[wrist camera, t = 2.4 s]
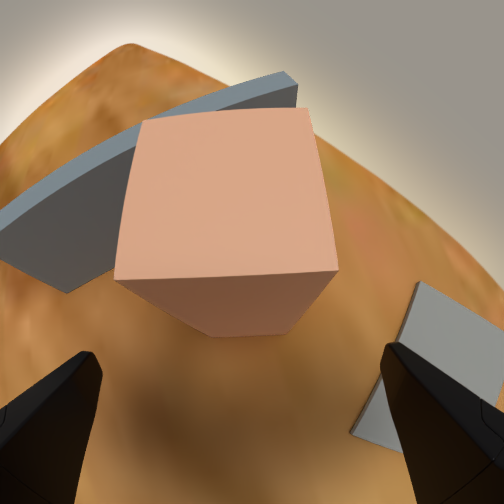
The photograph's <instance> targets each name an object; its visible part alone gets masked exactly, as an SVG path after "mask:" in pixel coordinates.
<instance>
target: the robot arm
mask: <svg viewBox="0 0 504 504" xmlns="http://www.w3.org/2000/svg"><path fill="white" fill-rule="evenodd" d="M380 370H381V374H382V379H383V383H384V387H385V392H386V396H387V401H388V406H389V410H390V413H391V416H392V419H393V422H394V426H395V429H396V432H397V435H398V438H399V441H400V444H401V448H402V451H403V454H404V458H405V461H406V464H407V468H408V471H409V475H410V479H411V482H412V486H413V490H414V493H415V497H416V501H417V504H504V413H503V412H501V411H500V410H498V409H497V408H495V407H494V406H492V405H491V404H489V403H488V402H486V401H485V400H484V399H482V398H481V399H480V397H479V396H478V395H476V394H475V393H473V392H472V391H470V390H469V389H468V388H466V387H465V386H463V385H462V384H460V383H459V382H457V381H456V380H455V379H453V378H452V377H450V376H449V375H447V374H446V373H444V372H443V371H442V370H440V369H439V368H437V367H436V366H434V365H433V364H431V363H430V362H428V361H427V360H426V359H424V358H423V357H421V356H420V355H418V354H417V353H415V352H414V351H412V350H411V349H409V348H408V347H407V346H405V345H404V344H402V343H401V342H391V343H387V344H386V346H385V348H384V352H383V355H382V359H381V362H380ZM102 377H103V372H102V369H101V367H100V365H99V363H98V360H97V358H96V356H95V354H94V353H93V352H89V351H81V352H79V353H78V354H76V355H75V356H74V357H72V358H71V359H69V360H68V361H67V362H65V363H64V364H62V365H61V366H60V367H58V368H57V369H55V370H54V371H52V372H51V373H50V374H48V375H47V376H45V377H44V378H43V379H41V380H40V381H38V382H37V383H36V384H34V385H33V386H32V387H30V388H29V389H27V390H26V391H25V392H23V393H22V394H20V395H19V396H18V397H16V398H15V399H14V400H12V401H11V402H9V403H8V404H7V405H5V406H4V407H3V408H1V409H0V504H74V502H75V497H76V492H77V487H78V482H79V477H80V473H81V468H82V464H83V460H84V456H85V451H86V447H87V444H88V440H89V436H90V432H91V429H92V425H93V421H94V418H95V413H96V409H97V403H98V397H99V392H100V387H101V382H102Z"/></svg>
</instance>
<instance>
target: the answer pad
mask: <svg viewBox="0 0 504 504" xmlns="http://www.w3.org/2000/svg"><path fill="white" fill-rule="evenodd" d="M395 342H401V343H402V344H404V345H405V346H407V347H408V348H409V349H411V350H412V351H414V352H415V353H417V354H418V355H420V356H421V357H423V358H424V359H426V360H427V361H428V362H430V363H431V364H433V365H434V366H436V367H437V368H439V369H440V370H442V371H443V372H444V373H446V374H447V375H449V376H450V377H452V378H453V379H455V380H456V381H457V382H459V383H460V384H462V385H463V386H465V387H466V388H468V389H469V390H470V391H472V392H473V393H475V394H476V395H478V396H479V397H480V399H481V398H482V399H484V400H485V401H486V402H488V403H489V404H491V405H492V406H494V407H495V405H496V402H497V399H498V396H499V394H500V391H501V388H502V384H503V381H504V331H502V330H501V329H499V328H498V327H496V326H495V325H493V324H491V323H490V322H488V321H487V320H485V319H483V318H482V317H480V316H479V315H477V314H475V313H474V312H472V311H471V310H469V309H467V308H466V307H464V306H462V305H461V304H459V303H457V302H456V301H454V300H452V299H451V298H449V297H447V296H446V295H444V294H442V293H441V292H439V291H437V290H436V289H434V288H432V287H430V286H429V285H427V284H425V283H423V282H422V281H419V282H418V283H417V284H416V287H415V290H414V293H413V296H412V299H411V302H410V305H409V308H408V310H407V313H406V316H405V318H404V321H403V324H402V326H401V329H400V331H399V334H398V336H397V339H396V341H395ZM350 433H351V434H352V435H354V436H357V437H359V438H362V439H364V440H367V441H370V442H372V443H375V444H378V445H380V446H383V447H386V448H389V449H392V450H395V451H398V452H401V453H403V451H402V448H401V444H400V441H399V438H398V435H397V432H396V429H395V426H394V422H393V419H392V416H391V413H390V410H389V406H388V401H387V396H386V392H385V387H384V383H383V379H382V374H381V375H380V377H379V379H378V381H377V383H376V385H375V387H374V389H373V391H372V393H371V395H370V397H369V399H368V401H367V403H366V405H365V407H364V409H363V411H362V412H361V414H360V416H359V418H358V420H357V421H356V423H355V425H354V427H353V428H352V430H351V432H350Z"/></svg>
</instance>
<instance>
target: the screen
mask: <svg viewBox="0 0 504 504" xmlns="http://www.w3.org/2000/svg"><path fill="white" fill-rule="evenodd" d="M297 90H298V84H297V83H296V82H295V81H294V80H293V79H292V78H291V77H290V76H288V75H287V74H286V73H285V72H284V71H282V72H278V73H274V74H271V75H267V76H263V77H260V78H256V79H253V80H250V81H246V82H243V83H240V84H237V85H234V86H231V87H228V88H225V89H222V90H219V91H216V92H213V93H211V94H208V95H205V96H202V97H200V98H197V99H195V100H192V101H189V102H187V103H184V104H182V105H180V106H177V107H175V108H172V109H170V110H168V111H165V112H163V113H161V114H159V115H156V116H154V117H152V118H150V119H156V118H162V117H169V116H176V115H184V114H192V113H201V112H211V111H223V110H237V109H256V108H296V100H297ZM150 119H148V120H150ZM141 125H142V122H141V123H139V124H137V125H135V126H133V127H131V128H129V129H127V130H125V131H123V132H121V133H119V134H117V135H115V136H113V137H111V138H109V139H108V140H106V141H104V142H102V143H100V144H98V145H97V146H95V147H93V148H91V149H90V150H88V151H86V152H84V153H83V154H81V155H79V156H78V157H76V158H74V159H73V160H71V161H69V162H68V163H66V164H65V165H63V166H62V167H60V168H58V169H57V170H55V171H54V172H52V173H51V174H49V175H48V176H46V177H45V178H43V179H42V180H40V181H39V182H38V183H36V184H35V185H33V186H32V187H30V188H29V189H28V190H26V191H25V192H24V193H22V194H21V195H20V196H18V197H17V198H16V199H14V200H13V201H12V202H10V203H9V204H8V205H7V206H5V207H4V208H3V209H2V210H0V259H1V260H2V261H4V262H6V263H8V264H10V265H11V266H13V267H15V268H17V269H19V270H21V271H23V272H24V273H26V274H28V275H30V276H32V277H34V278H36V279H38V280H40V281H42V282H44V283H46V284H48V285H50V286H52V287H54V288H56V289H58V290H61V291H63V292H65V293H69V292H71V291H72V290H74V289H76V288H78V287H79V286H81V285H83V284H85V283H87V282H89V281H90V280H92V279H94V278H96V277H98V276H100V275H101V274H103V273H105V272H107V271H109V270H111V269H113V268H114V267H115V262H116V253H117V245H118V238H119V231H120V224H121V218H122V212H123V206H124V200H125V195H126V190H127V185H128V180H129V175H130V170H131V166H132V161H133V157H134V153H135V148H136V144H137V140H138V136H139V133H140V129H141Z"/></svg>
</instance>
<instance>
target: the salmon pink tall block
mask: <svg viewBox="0 0 504 504" xmlns="http://www.w3.org/2000/svg"><path fill="white" fill-rule="evenodd" d="M338 271H339V268H338V261H337V254H336V247H335V241H334V234H333V228H332V222H331V216H330V210H329V205H328V199H327V194H326V189H325V183H324V178H323V173H322V169H321V164H320V159H319V154H318V150H317V145H316V141H315V136H314V132H313V129H312V124H311V120H310V116H309V112H308V108H256V109H237V110H223V111H211V112H201V113H192V114H184V115H176V116H169V117H162V118H156V119H150V120H144V121H142V125H141V129H140V133H139V136H138V140H137V144H136V148H135V153H134V157H133V161H132V166H131V170H130V175H129V180H128V185H127V190H126V195H125V200H124V206H123V212H122V218H121V224H120V231H119V238H118V245H117V253H116V262H115V271H114V280H115V281H116V282H118V283H119V284H121V285H122V286H124V287H125V288H127V289H129V290H130V291H132V292H133V293H135V294H137V295H138V296H140V297H141V298H143V299H145V300H146V301H148V302H150V303H151V304H153V305H155V306H156V307H158V308H160V309H161V310H163V311H165V312H167V313H168V314H170V315H172V316H173V317H175V318H177V319H179V320H180V321H182V322H184V323H186V324H188V325H189V326H191V327H193V328H195V329H197V330H198V331H200V332H202V333H204V334H206V335H208V336H210V337H243V336H266V335H283V334H287V333H288V332H289V331H290V329H291V328H292V327H293V326H294V325H295V324H296V322H297V321H298V320H299V319H300V318H301V316H302V315H303V314H304V313H305V312H306V310H307V309H308V308H309V307H310V306H311V304H312V303H313V302H314V301H315V300H316V298H317V297H318V296H319V295H320V293H321V292H322V291H323V290H324V288H325V287H326V286H327V285H328V283H329V282H330V281H331V280H332V278H333V277H334V276H335V274H336V273H337V272H338Z"/></svg>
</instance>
